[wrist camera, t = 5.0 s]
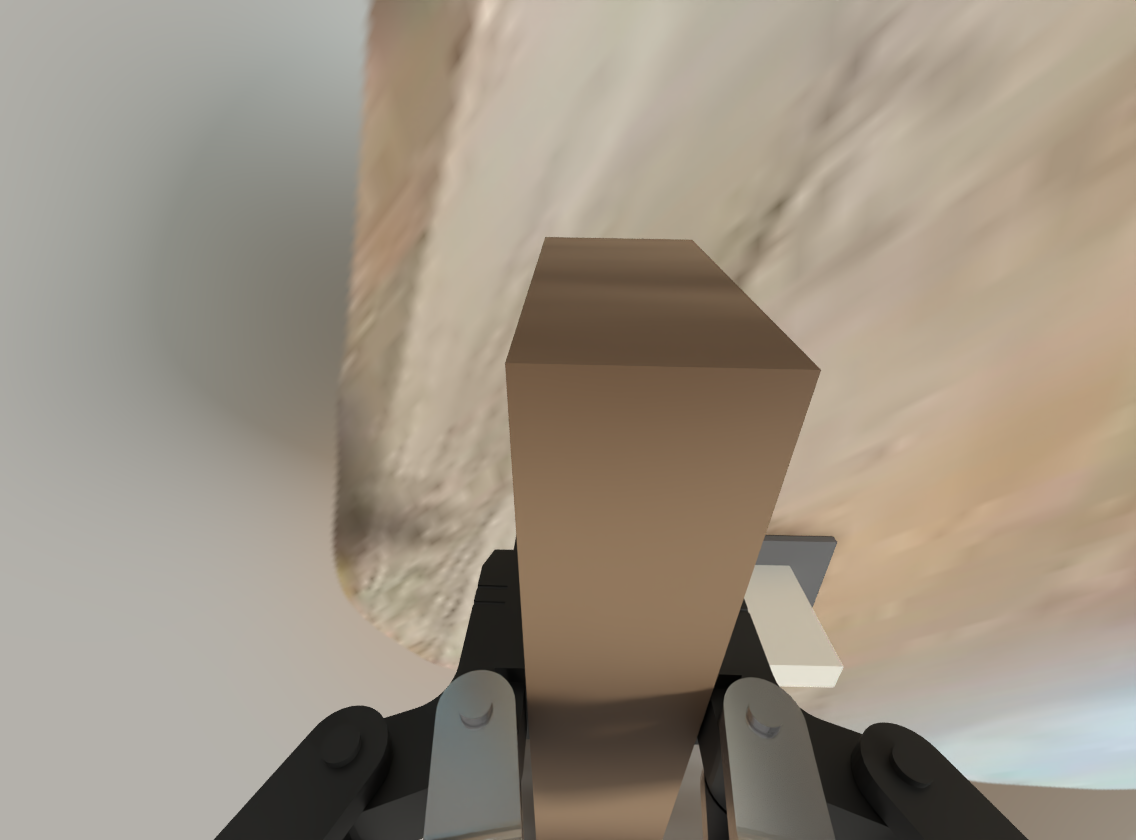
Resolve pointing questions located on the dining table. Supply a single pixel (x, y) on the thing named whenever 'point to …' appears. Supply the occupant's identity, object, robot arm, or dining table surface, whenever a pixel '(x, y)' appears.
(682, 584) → the wooden post on base
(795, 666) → the tile
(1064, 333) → the dining table surface
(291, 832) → the robot arm
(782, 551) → the mat
